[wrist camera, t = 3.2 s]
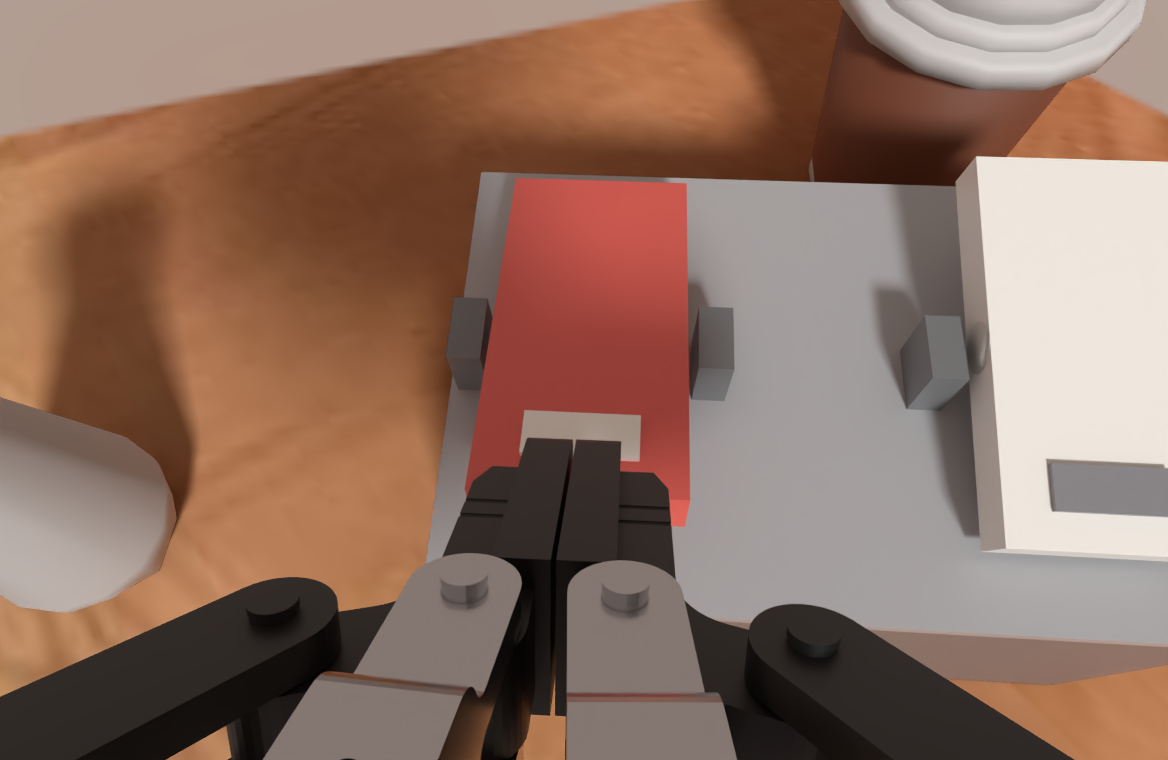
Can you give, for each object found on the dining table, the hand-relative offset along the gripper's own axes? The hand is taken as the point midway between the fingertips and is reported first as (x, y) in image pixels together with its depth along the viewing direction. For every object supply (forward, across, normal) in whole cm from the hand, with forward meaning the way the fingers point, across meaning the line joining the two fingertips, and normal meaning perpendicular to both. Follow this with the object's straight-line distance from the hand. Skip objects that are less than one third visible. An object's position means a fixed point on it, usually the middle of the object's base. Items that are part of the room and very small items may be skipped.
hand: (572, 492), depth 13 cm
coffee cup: (+24, -11, -2) cm, 27 cm away
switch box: (+14, -5, +7) cm, 17 cm away
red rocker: (+7, 0, -1) cm, 7 cm away
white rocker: (+6, -11, -1) cm, 13 cm away
